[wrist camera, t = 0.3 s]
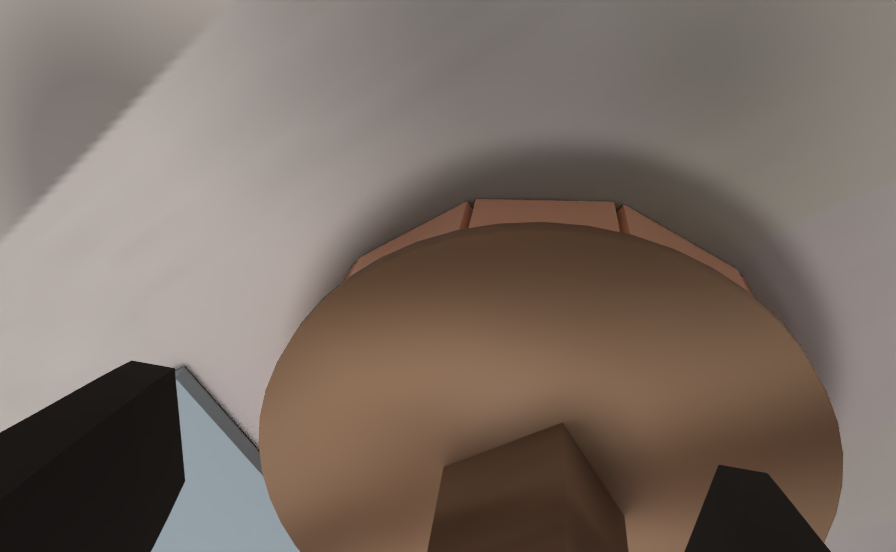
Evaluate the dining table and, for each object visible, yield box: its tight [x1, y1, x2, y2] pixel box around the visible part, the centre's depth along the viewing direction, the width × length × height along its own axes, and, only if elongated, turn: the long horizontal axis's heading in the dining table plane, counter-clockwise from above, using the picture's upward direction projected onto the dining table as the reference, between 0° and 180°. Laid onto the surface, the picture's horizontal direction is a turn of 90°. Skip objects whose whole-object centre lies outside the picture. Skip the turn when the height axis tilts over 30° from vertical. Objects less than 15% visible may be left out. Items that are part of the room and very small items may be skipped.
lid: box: [259, 222, 843, 552], centre depth 17 cm, size 15×15×5 cm
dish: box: [344, 199, 753, 295], centre depth 20 cm, size 14×14×2 cm
